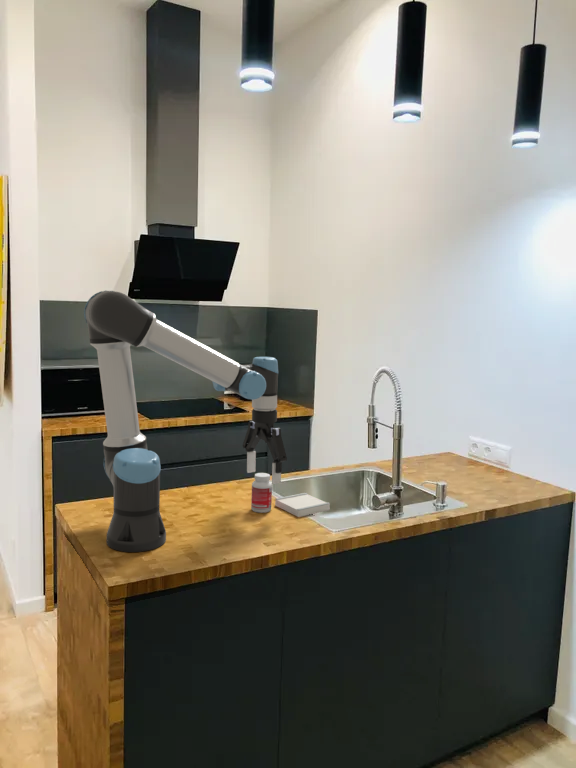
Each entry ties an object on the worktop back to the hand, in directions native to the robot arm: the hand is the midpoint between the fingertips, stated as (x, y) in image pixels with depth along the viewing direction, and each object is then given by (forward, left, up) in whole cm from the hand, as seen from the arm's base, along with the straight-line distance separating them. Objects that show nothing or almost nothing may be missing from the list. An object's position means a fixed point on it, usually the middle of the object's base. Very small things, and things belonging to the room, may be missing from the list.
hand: (263, 477), depth 193 cm
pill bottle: (0, 0, -10) cm, 10 cm away
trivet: (+12, -5, -10) cm, 16 cm away
